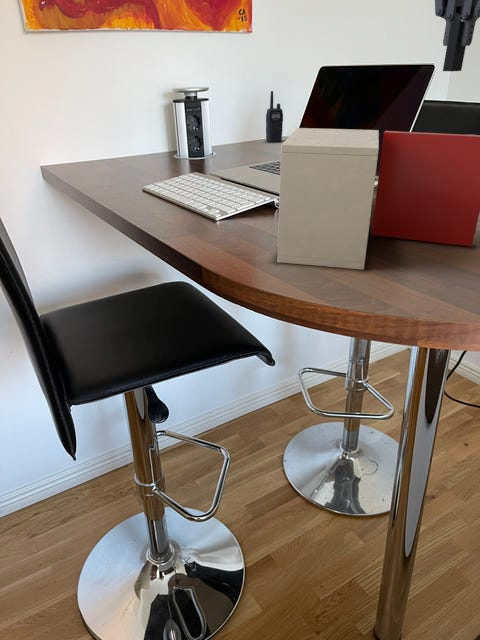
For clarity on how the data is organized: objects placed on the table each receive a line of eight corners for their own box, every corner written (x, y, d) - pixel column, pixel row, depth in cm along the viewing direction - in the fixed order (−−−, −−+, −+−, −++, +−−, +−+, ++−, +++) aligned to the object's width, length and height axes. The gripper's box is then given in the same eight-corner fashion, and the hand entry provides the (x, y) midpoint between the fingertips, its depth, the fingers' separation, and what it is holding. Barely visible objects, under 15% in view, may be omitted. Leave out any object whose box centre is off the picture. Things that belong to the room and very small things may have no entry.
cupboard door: (377, 222, 86) (389, 125, 78) (471, 232, 81) (494, 130, 73) (371, 235, 80) (383, 131, 73) (471, 246, 75) (496, 137, 68)
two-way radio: (267, 142, 158) (268, 91, 151) (263, 140, 162) (263, 90, 155) (283, 142, 160) (285, 90, 152) (279, 139, 163) (280, 89, 156)
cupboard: (366, 234, 81) (378, 130, 73) (363, 269, 68) (378, 147, 60) (292, 229, 83) (297, 127, 76) (277, 262, 71) (281, 144, 63)
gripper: (427, -125, 67) (401, 70, 79) (525, -152, 58) (480, 73, 70) (457, -116, 71) (428, 69, 83) (553, -139, 62) (506, 71, 74)
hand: (452, 70), depth 76 cm, fingers closed
